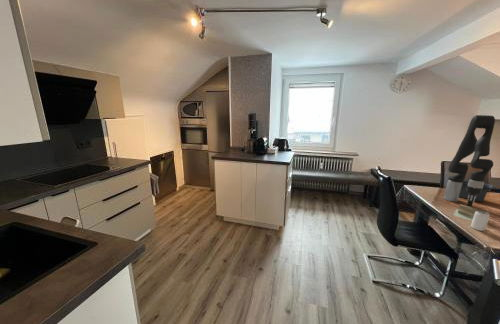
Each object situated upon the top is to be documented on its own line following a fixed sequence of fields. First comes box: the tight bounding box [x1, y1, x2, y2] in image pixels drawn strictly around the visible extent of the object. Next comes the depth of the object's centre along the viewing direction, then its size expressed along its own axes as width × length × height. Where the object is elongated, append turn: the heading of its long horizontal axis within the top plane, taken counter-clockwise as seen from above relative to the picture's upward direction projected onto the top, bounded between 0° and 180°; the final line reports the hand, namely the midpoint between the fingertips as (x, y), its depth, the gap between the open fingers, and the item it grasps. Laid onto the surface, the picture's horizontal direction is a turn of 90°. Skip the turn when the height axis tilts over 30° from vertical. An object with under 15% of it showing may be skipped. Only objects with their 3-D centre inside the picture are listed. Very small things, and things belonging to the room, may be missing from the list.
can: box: [470, 209, 490, 232], centre depth 134 cm, size 6×6×12 cm
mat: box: [452, 208, 473, 222], centre depth 152 cm, size 16×12×1 cm
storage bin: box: [459, 179, 493, 203], centre depth 182 cm, size 21×16×14 cm
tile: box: [458, 203, 479, 217], centre depth 151 cm, size 2×9×7 cm, turn 39°
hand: (468, 208), depth 152 cm, fingers closed
